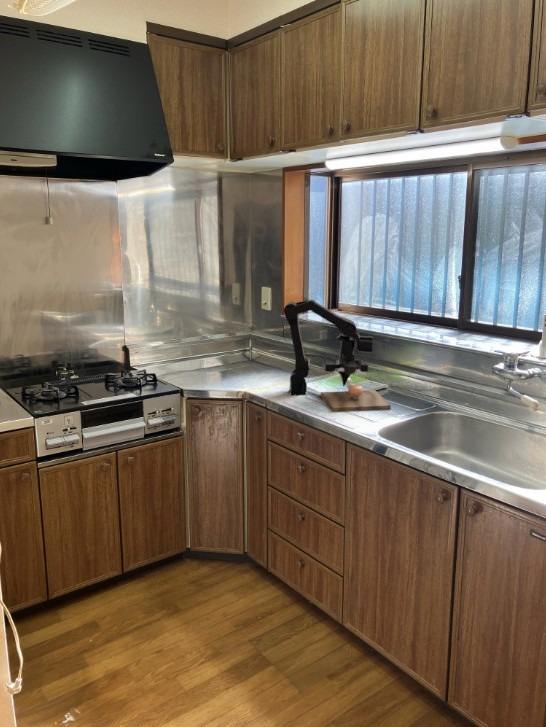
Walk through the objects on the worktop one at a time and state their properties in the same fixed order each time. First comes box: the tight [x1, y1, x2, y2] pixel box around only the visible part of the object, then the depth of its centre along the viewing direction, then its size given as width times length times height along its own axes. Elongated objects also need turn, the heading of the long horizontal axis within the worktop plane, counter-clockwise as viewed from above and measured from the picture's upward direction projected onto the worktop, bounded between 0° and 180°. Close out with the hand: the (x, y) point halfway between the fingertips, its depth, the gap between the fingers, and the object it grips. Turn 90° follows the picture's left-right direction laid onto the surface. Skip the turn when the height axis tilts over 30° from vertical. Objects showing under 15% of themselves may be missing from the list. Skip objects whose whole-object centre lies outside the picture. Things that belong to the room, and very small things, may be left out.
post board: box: [320, 389, 392, 412], centre depth 247 cm, size 24×20×3 cm
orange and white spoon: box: [345, 377, 363, 396], centre depth 251 cm, size 16×6×3 cm, turn 7°
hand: (343, 385), depth 255 cm, fingers closed
